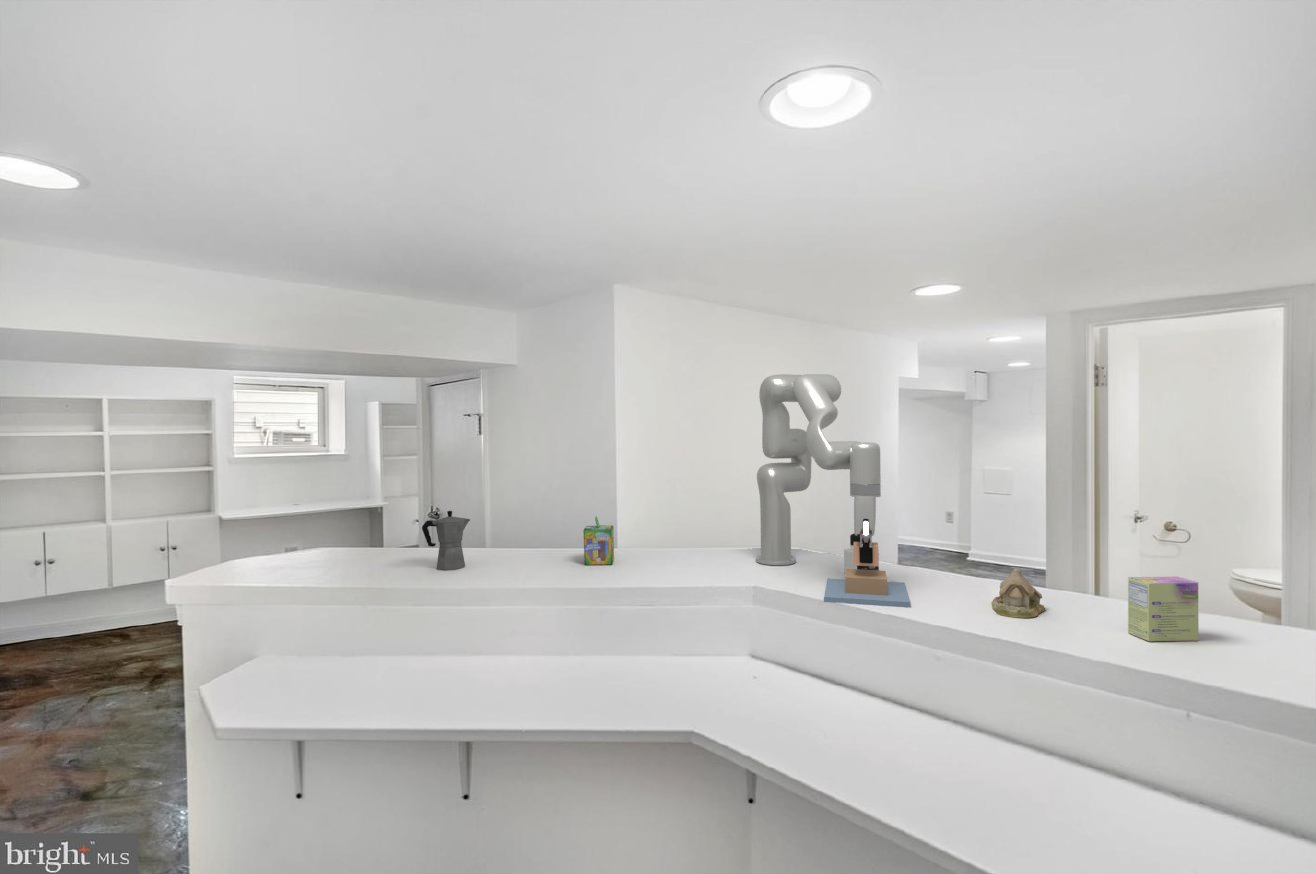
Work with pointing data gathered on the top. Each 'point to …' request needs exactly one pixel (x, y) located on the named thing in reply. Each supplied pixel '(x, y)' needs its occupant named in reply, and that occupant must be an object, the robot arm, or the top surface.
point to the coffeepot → (448, 541)
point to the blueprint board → (888, 600)
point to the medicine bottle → (850, 556)
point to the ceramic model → (1017, 597)
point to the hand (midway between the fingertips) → (865, 559)
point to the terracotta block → (875, 555)
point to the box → (1163, 608)
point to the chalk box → (598, 544)
